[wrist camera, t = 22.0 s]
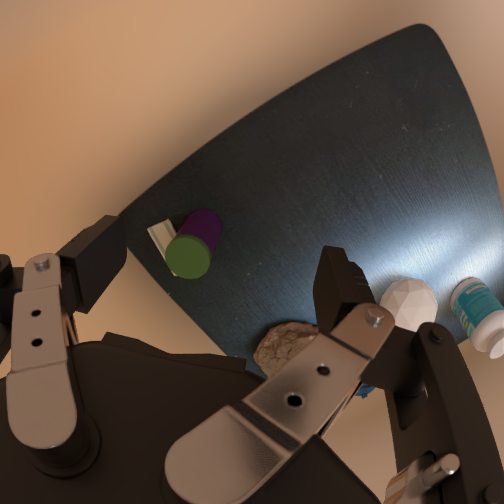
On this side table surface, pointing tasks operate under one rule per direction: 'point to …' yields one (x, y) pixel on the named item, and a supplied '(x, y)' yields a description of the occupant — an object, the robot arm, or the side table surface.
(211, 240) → the green-lidded purple jar
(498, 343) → the pill bottle
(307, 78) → the side table surface
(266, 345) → the rock
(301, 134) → the side table surface
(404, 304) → the perfume bottle
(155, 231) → the napkin
